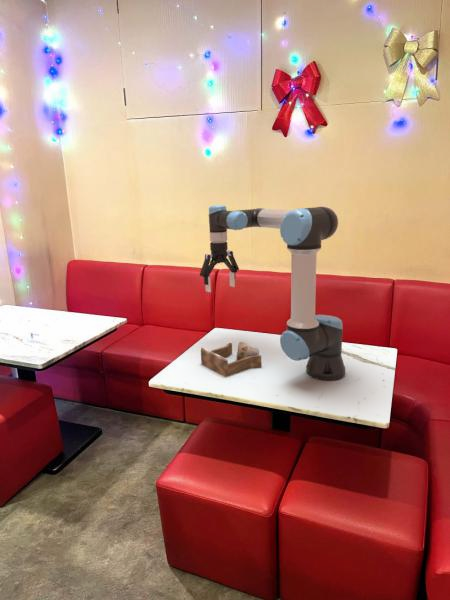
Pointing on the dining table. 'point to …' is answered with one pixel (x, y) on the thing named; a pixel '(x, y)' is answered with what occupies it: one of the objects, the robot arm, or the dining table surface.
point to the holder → (220, 364)
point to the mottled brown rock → (246, 351)
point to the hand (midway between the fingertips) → (220, 289)
